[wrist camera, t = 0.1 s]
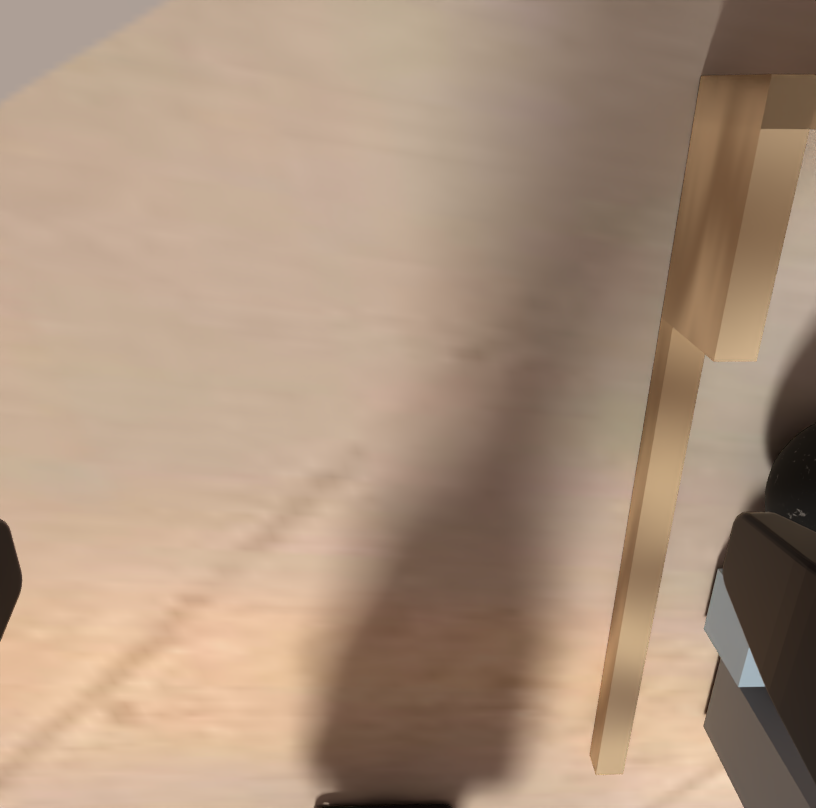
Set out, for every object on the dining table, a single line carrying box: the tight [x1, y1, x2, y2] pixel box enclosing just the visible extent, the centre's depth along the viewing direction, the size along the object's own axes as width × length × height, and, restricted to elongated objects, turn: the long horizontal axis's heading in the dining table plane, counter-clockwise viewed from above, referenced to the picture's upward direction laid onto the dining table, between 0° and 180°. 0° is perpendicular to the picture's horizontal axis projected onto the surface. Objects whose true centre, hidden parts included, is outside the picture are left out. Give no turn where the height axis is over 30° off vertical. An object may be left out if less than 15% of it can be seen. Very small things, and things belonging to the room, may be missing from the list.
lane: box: [590, 318, 705, 775], centre depth 27 cm, size 20×13×1 cm, turn 0°
